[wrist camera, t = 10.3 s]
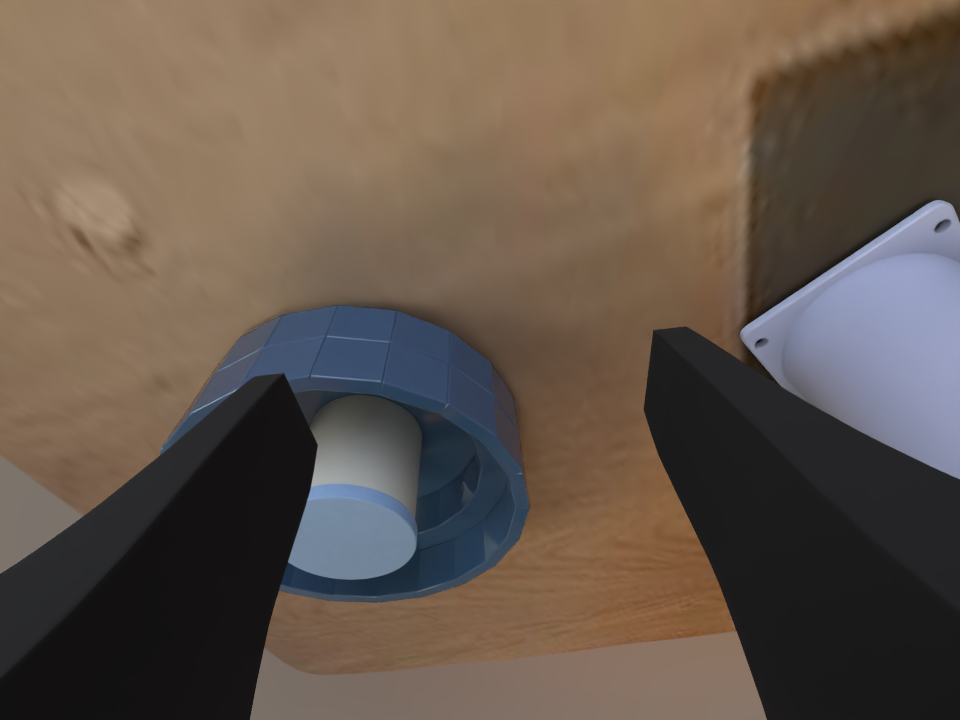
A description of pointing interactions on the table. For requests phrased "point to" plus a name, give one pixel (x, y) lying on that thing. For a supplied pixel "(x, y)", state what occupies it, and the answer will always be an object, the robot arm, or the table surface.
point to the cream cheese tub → (360, 490)
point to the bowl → (441, 417)
